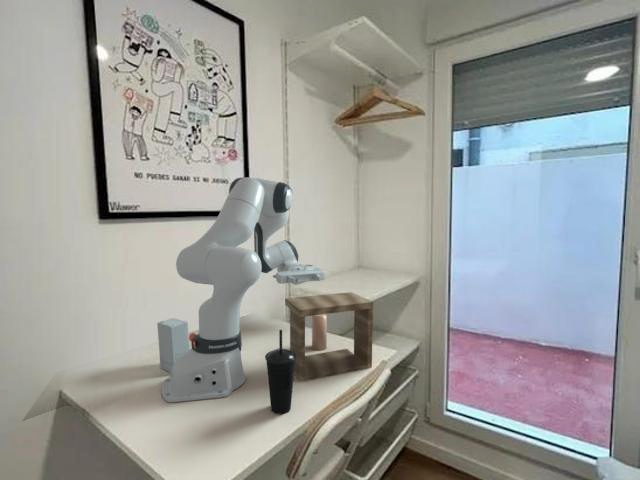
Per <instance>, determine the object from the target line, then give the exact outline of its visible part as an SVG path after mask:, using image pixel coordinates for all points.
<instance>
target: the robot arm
mask: <svg viewBox="0 0 640 480" xmlns="http://www.w3.org/2000/svg"><path fill="white" fill-rule="evenodd" d="M292 204H293V189H292V188H291V186H290V185H289V184H287V183H285V182H281V181H275V180H269V179H264V178H259V177H258V178H256V177H255V178H254V177H249V176H247V177H236V178H235V179H233V181H231V183H230V185H229V189H228V195H227V197H226V199H225V201H224V203H223V205H222V208H221V209H220V212H219V214H218V216H217V217H216V219H215V221H214V223H213V224H212V225H211V226H210V228H209V229H208V230H207V231H206V233H204V234H203V235H202V236H201V237H200V238H199V239H198V240H197V241H196V242H193V244H190V245H188V246H186V247H185V248H183V249H182V250H180V252H179V254H178V256H177V258H176V263H175V269H176V271H177V274H178V275H179V276H180V278H182V279H184V280H186V281H189V282H192V283H195V284H202V285H210V286H213V292H212V294H211V297H210V298H208V299H206V300H205V301H203V302H202V304H201V305H200V306H199V308H198V333H197V334H196V333H194V332H191V333H189V334H188V337H189V342H191V343H190V345H191V349H190V348H189V351H188V352H187V353H185V354H184V355H183V356H182V357H181V358H179V359H178V360H177V361H176V362H175V363H174V365H173V368H172V371H171V373H170V375H169V376H168V377H166V378H165V379H164V381H163V382H162V384H161V385H162V386H161V396H162V397H161V398H162V399H163V400H165V401H166V403H178V402H188V401H197V400H199V401H200V400H208V399H217V398H219V399H220V398H227V397H228V396H230V395H231V393H232V392H233V391H234V390H236V389H238V388H239V387H241V386H242V385H243V384H244V383H245V382H246V379H247V376H246V374H245V371H244V370H245V369H244V366H243V360H242V344H243V342H242V341H243V340H242V339H243V337H242V332H241V329H240V317H241V315H240V314H241V305H242V300H243V298H244V296H245V294H246V293H247V291H248V290H249V288H251V287H252V286H253V285H255V284H256V283H257V282H258V281H259V278H260V276H261V274H262V273H264V274H268V273H270V272H272V271H273V270H275V269H277V270H276V271H277V272H276V273H275V274H273V275H272V277H273V278H274V279H276V280H275V281H276V282H277V283H278V284H280V285H283V284H292V285H293V286H295V285H301V284H303V283H306V282H307V283H308V282H320V281H324V280H326V271H325V270H324V269H323V268H320V267H316V265H313V264H302V263H298V262H299V253H298V250H297V249H296V247H295V245H294V244H293V243H292V242H291V241H288V240H287V239H286V240H285V239H283V240H281V241H278V242H276V243H275V244H272V245H270V246H268V247H267V241H268V240H269V238H270V237H272V236H273V235H274V234H275V233H276V232H278V231H279V230H281V229H282V228H283V227H284V226H285V225H286V224H287V222H288V221H289V218H290V209H291V206H292ZM252 235H253V236H254V237H253V245H254V246H253V247H254V250H250V249H247V248H244V247H239V246H240V245H242V244H244V243H246V242H247V241H249V239H250V238H251V237H252Z"/></svg>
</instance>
